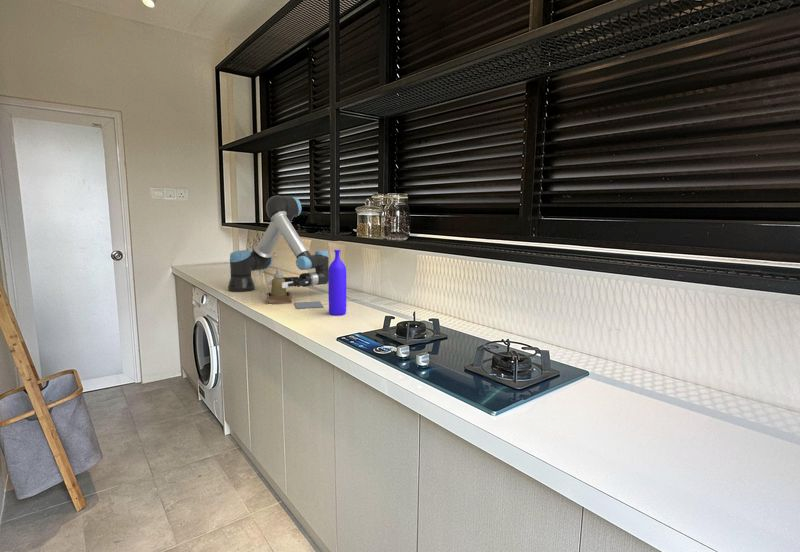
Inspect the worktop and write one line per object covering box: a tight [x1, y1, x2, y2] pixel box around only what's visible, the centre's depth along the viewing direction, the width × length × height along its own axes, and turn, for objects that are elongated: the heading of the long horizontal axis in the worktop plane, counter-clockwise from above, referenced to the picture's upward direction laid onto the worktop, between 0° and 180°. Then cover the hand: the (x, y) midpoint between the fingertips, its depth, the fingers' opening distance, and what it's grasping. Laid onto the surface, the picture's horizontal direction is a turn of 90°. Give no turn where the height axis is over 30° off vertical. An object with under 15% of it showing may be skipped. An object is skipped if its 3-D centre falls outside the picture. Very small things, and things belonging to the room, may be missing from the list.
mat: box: [294, 300, 324, 310], centre depth 210 cm, size 13×13×1 cm
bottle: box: [327, 249, 347, 317], centre depth 192 cm, size 8×8×30 cm
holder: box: [266, 291, 293, 305], centre depth 218 cm, size 12×12×4 cm
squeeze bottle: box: [270, 267, 287, 296], centre depth 217 cm, size 8×8×18 cm
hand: (274, 283), depth 215 cm, fingers open, 13 cm apart
